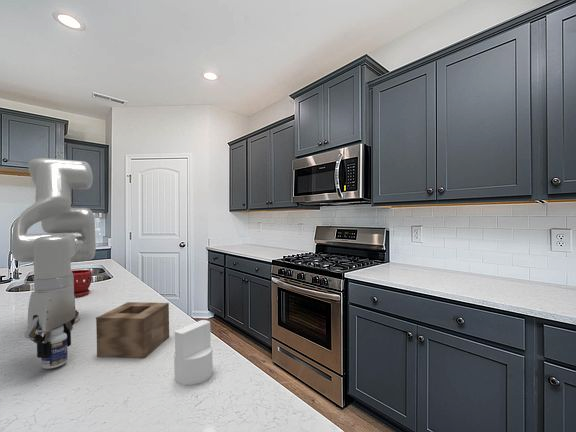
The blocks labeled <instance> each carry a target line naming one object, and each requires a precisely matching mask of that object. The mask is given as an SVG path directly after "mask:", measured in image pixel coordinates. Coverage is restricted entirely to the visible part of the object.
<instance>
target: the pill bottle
mask: <svg viewBox="0 0 576 432" xmlns="http://www.w3.org/2000/svg"><path fill="white" fill-rule="evenodd" d="M63 331H64V326H63V325H60V326H58V327H56V328H54V329H51V332H50V336H49V340H48V342H51V357H49V358H40V360H41V368H43V369H46V370H47V369H55V368H58V367H61V366H63V365H64V364H66V363H67V361H68V355H69V354H68V346H67V334H66V333H64V332H63Z"/></svg>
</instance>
